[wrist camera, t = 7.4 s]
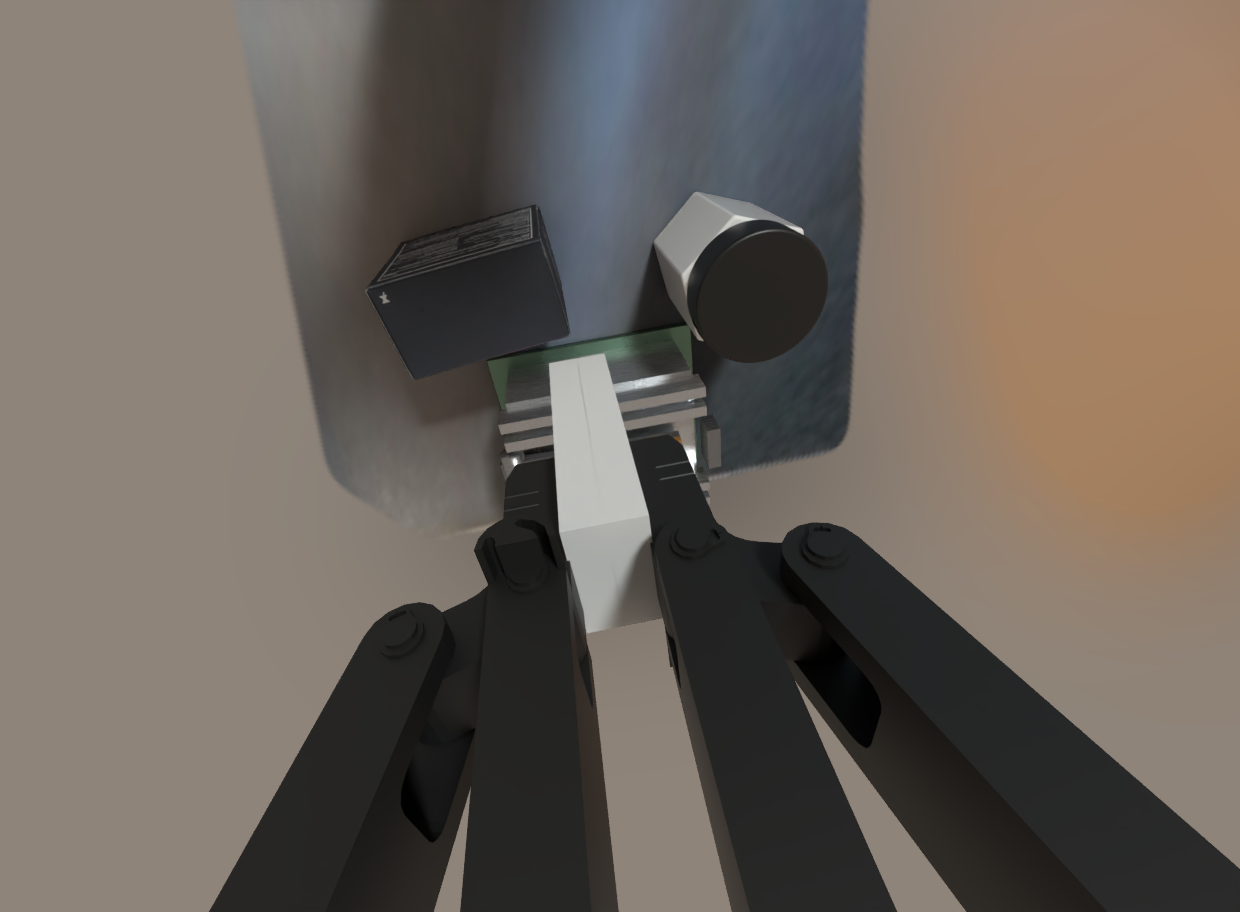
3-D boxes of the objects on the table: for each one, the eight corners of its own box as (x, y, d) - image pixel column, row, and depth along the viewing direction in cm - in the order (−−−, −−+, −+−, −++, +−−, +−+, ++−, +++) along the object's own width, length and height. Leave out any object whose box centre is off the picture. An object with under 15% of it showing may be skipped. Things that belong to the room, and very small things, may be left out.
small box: (436, 326, 41) (410, 387, 33) (396, 242, 37) (356, 285, 29) (565, 289, 41) (573, 341, 32) (538, 201, 37) (540, 233, 29)
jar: (641, 294, 42) (674, 355, 32) (665, 182, 37) (712, 214, 28) (743, 311, 44) (804, 373, 34) (778, 206, 39) (859, 243, 30)
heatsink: (487, 358, 43) (478, 410, 36) (688, 322, 44) (718, 366, 37) (526, 488, 51) (526, 552, 44) (696, 456, 52) (722, 514, 45)
